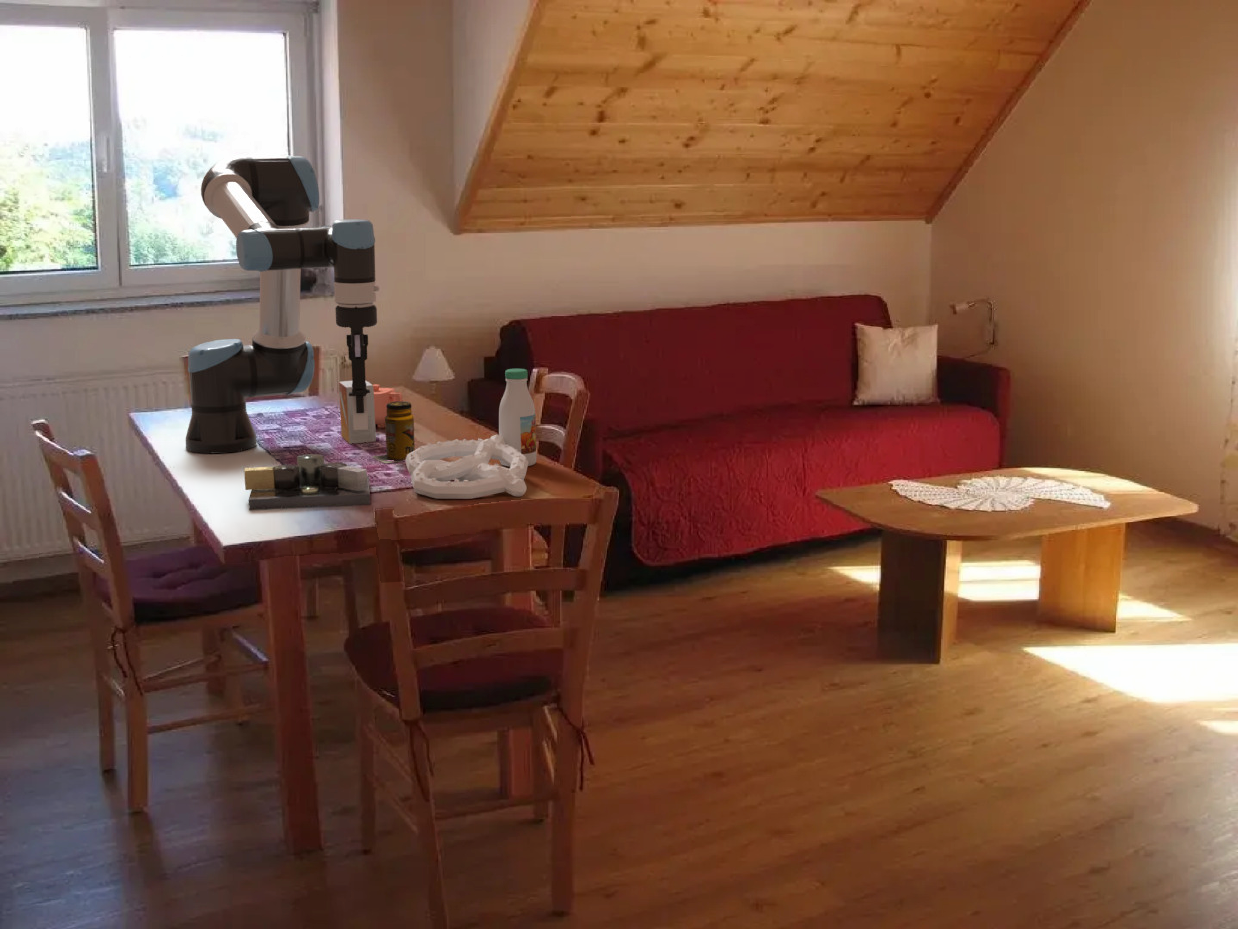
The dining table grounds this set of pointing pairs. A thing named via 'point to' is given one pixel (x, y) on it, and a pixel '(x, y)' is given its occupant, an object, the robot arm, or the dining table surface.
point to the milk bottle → (518, 416)
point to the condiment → (398, 432)
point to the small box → (347, 415)
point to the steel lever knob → (343, 476)
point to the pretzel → (467, 469)
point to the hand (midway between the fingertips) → (360, 428)
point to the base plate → (308, 490)
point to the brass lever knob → (272, 477)
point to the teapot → (383, 403)
